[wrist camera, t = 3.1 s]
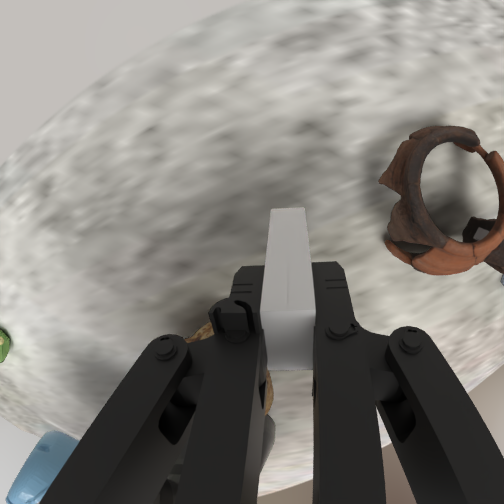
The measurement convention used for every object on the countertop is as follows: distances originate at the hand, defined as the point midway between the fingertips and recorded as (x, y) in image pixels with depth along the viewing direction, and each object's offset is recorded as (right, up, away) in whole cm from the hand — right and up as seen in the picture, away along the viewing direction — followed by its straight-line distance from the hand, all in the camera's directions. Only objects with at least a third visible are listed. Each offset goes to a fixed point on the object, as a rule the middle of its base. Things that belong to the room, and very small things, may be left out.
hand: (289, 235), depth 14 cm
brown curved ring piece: (+11, +3, +5) cm, 13 cm away
